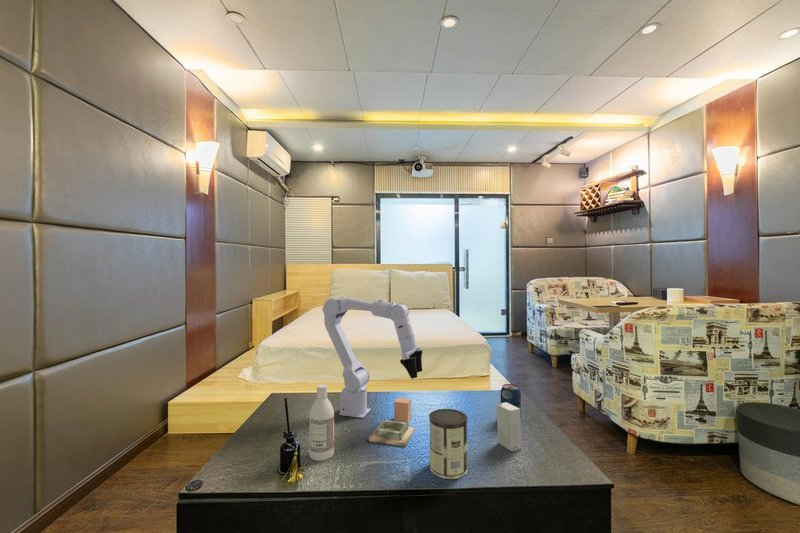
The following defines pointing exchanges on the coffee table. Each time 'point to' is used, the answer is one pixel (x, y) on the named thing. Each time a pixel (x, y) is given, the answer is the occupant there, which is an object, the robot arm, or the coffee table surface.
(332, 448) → the bath foam
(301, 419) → the coffee table surface
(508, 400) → the soda can
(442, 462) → the coffee can
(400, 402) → the keyed peg
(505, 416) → the skincare box
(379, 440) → the socket stand
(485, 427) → the coffee table surface
